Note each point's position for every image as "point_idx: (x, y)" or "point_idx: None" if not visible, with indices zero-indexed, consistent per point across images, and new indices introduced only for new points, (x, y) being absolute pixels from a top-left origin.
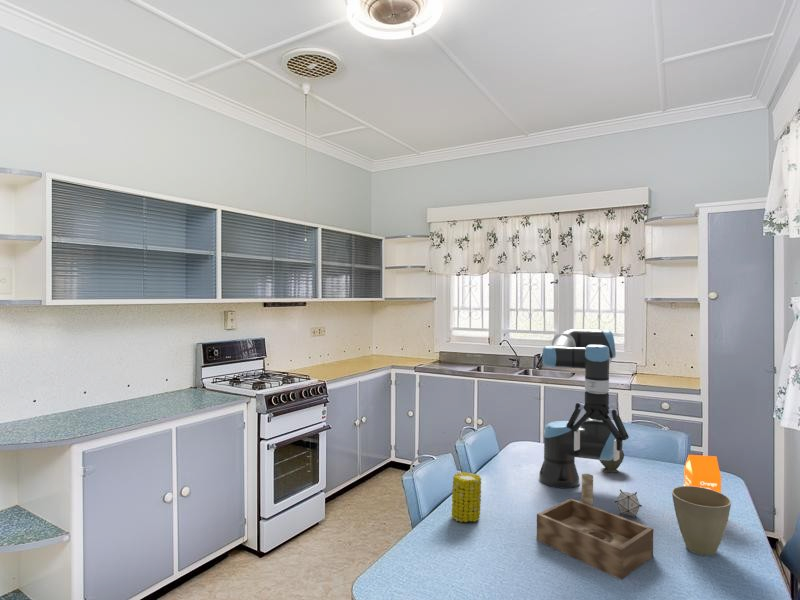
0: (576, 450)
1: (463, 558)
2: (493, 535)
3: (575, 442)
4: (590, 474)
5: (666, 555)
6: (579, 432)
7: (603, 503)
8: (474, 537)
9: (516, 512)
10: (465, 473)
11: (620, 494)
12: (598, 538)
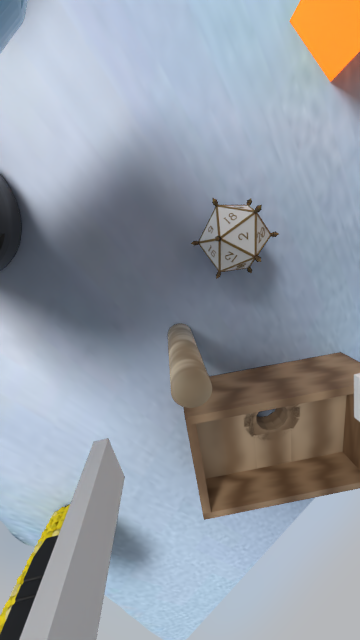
0: (123, 474)
1: (181, 561)
2: (150, 510)
3: (108, 544)
4: (189, 372)
5: (354, 329)
6: (55, 636)
7: (146, 235)
8: (141, 532)
9: (95, 440)
10: (2, 627)
11: (221, 249)
12: (332, 489)
